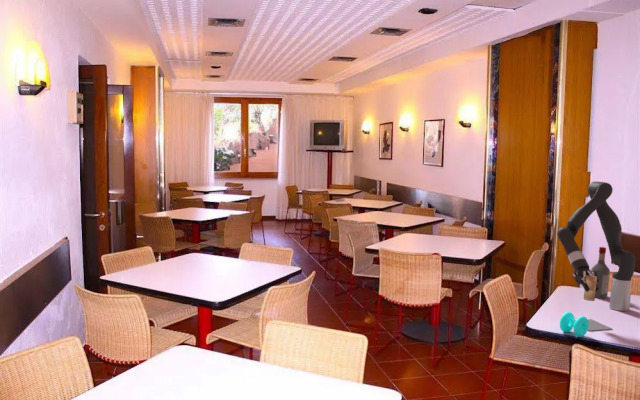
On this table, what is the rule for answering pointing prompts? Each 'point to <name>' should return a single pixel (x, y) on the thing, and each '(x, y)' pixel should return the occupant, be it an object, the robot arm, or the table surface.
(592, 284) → the oak roller
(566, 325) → the turquoise spool
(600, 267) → the liquor
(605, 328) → the slate pad
